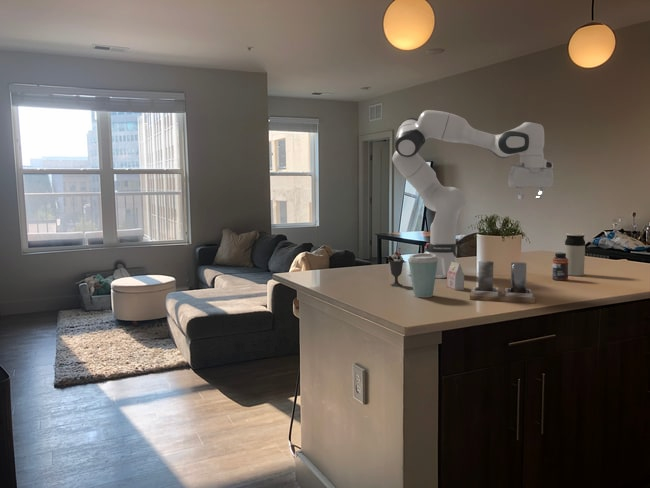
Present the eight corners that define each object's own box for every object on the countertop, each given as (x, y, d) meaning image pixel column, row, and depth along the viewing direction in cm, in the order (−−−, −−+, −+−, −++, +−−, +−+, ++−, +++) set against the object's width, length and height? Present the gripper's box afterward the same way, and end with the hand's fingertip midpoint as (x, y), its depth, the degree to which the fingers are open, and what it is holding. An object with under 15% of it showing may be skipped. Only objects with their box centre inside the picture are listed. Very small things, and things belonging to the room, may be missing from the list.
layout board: (469, 299, 181) (470, 263, 180) (471, 293, 193) (472, 259, 191) (534, 303, 175) (536, 266, 173) (532, 296, 186) (533, 261, 185)
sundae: (406, 284, 212) (406, 247, 210) (402, 287, 205) (403, 249, 204) (389, 283, 214) (390, 247, 212) (386, 286, 207) (386, 248, 206)
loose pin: (510, 295, 180) (510, 263, 179) (510, 292, 185) (511, 261, 184) (526, 296, 178) (526, 264, 177) (526, 293, 183) (526, 262, 182)
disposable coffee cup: (431, 300, 181) (432, 257, 179) (402, 297, 187) (403, 255, 185) (442, 294, 190) (442, 253, 188) (414, 292, 196) (414, 252, 194)
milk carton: (455, 286, 206) (455, 261, 205) (463, 289, 199) (464, 263, 198) (446, 287, 205) (447, 261, 204) (455, 290, 198) (455, 264, 197)
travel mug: (575, 276, 224) (577, 235, 222) (559, 274, 231) (561, 233, 229) (587, 275, 228) (589, 234, 226) (571, 272, 235) (573, 232, 233)
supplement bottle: (564, 278, 220) (565, 251, 219) (570, 281, 214) (571, 253, 213) (550, 278, 221) (551, 251, 220) (554, 281, 215) (555, 253, 214)
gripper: (516, 162, 200) (515, 199, 202) (556, 164, 208) (555, 198, 209) (505, 163, 206) (503, 198, 207) (544, 164, 214) (543, 198, 215)
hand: (530, 198), depth 208 cm, fingers open, 8 cm apart
